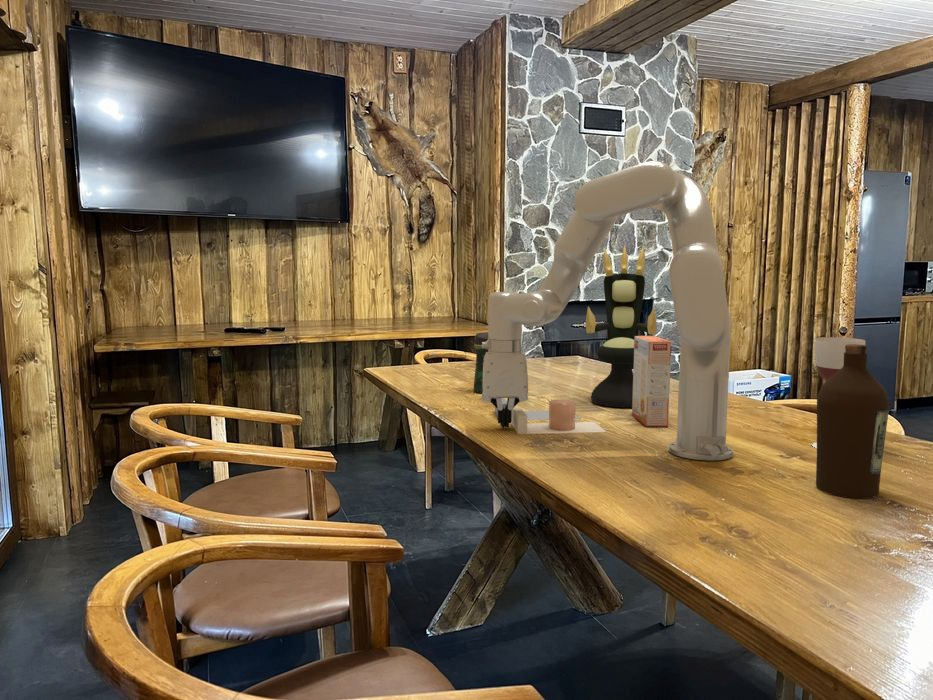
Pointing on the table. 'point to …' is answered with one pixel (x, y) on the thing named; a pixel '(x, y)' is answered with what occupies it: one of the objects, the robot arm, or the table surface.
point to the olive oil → (851, 429)
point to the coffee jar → (479, 360)
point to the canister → (562, 415)
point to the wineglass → (831, 356)
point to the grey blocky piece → (533, 413)
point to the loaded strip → (547, 425)
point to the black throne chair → (620, 330)
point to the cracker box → (651, 380)
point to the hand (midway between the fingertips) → (504, 426)
